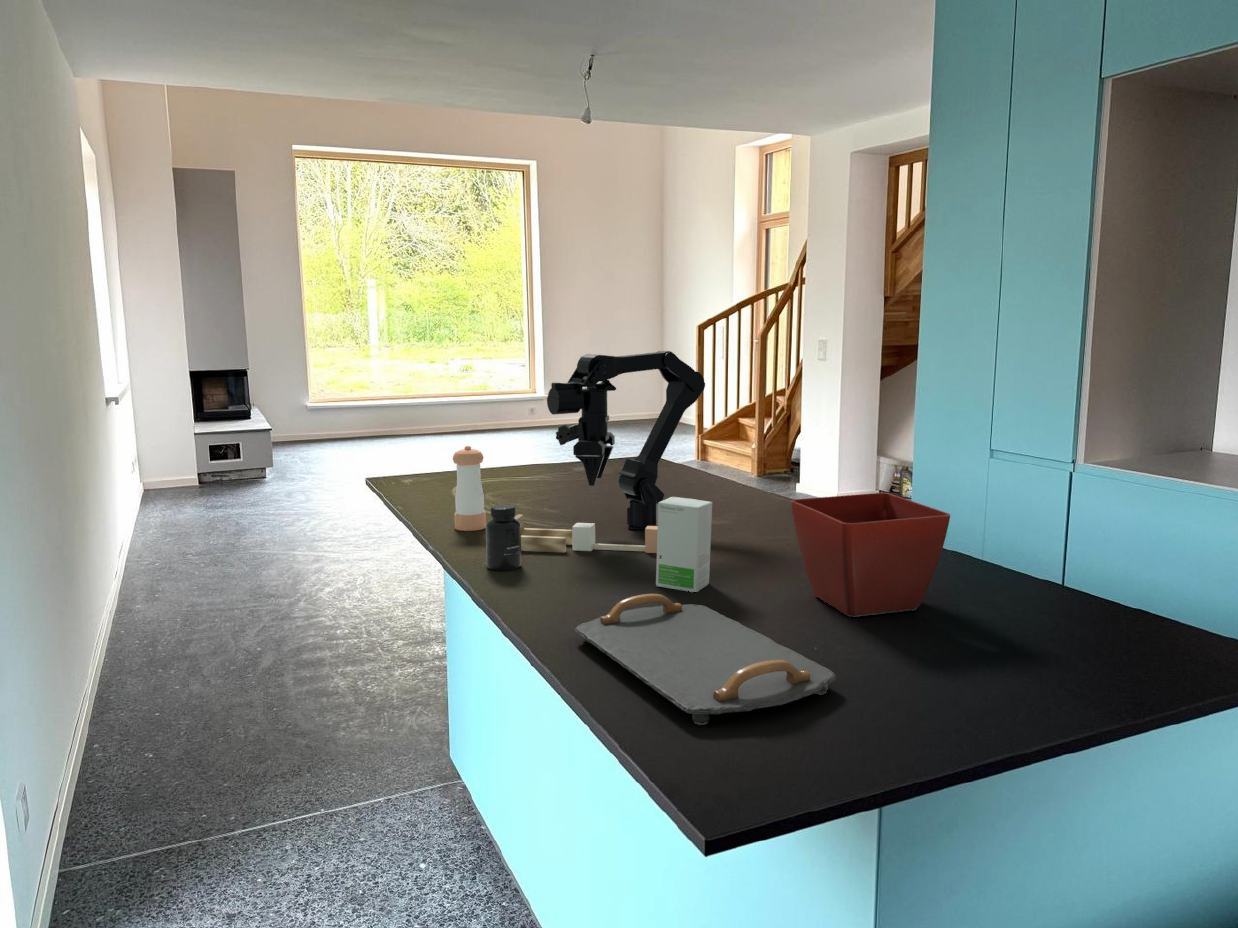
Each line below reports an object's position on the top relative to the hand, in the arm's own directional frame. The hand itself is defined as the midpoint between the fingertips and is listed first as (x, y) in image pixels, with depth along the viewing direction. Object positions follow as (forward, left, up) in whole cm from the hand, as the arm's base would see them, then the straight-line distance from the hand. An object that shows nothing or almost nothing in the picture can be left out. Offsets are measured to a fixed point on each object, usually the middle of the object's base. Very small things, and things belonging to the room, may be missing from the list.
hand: (595, 481), depth 197 cm
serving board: (-29, +73, -13) cm, 79 cm away
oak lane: (+9, +13, -12) cm, 19 cm away
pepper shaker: (+30, -2, -12) cm, 33 cm away
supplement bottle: (+12, +29, -12) cm, 33 cm away
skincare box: (-24, +36, -12) cm, 44 cm away
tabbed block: (-7, +13, -12) cm, 19 cm away
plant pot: (-55, +42, -12) cm, 70 cm away
